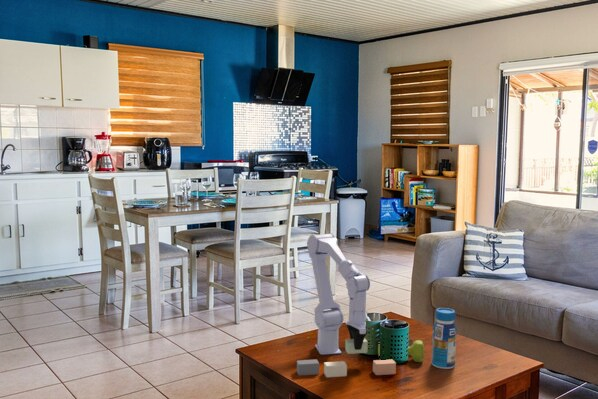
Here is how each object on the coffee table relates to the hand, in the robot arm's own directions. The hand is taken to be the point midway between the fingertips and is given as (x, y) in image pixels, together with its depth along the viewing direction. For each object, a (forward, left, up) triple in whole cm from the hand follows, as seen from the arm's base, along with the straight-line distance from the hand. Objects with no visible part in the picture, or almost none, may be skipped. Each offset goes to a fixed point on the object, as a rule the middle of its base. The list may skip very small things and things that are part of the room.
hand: (356, 347), depth 207 cm
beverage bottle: (+4, +31, -7) cm, 32 cm away
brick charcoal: (+3, -18, -7) cm, 20 cm away
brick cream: (+6, -9, -7) cm, 13 cm away
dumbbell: (-4, +18, -7) cm, 20 cm away
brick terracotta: (+7, +8, -7) cm, 13 cm away
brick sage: (0, 0, -2) cm, 2 cm away
